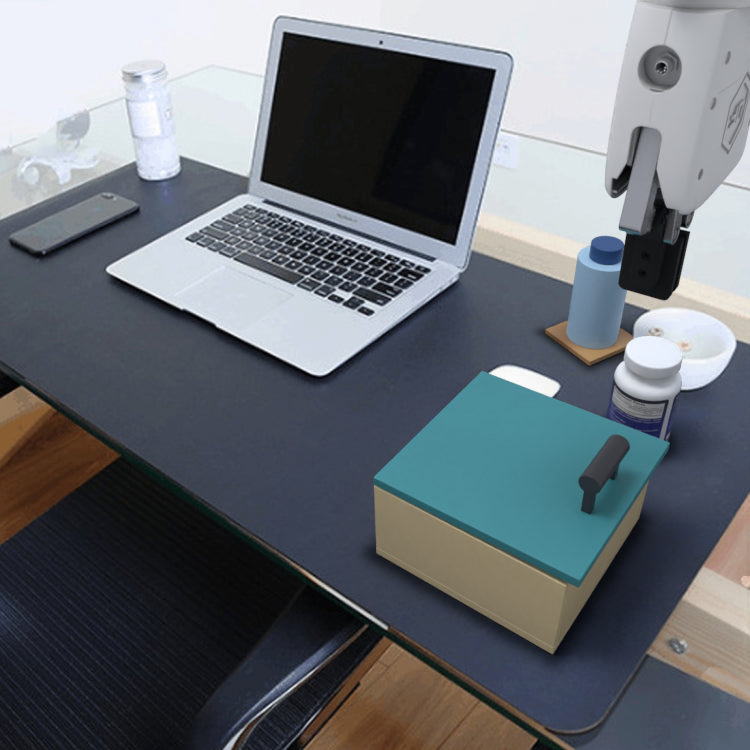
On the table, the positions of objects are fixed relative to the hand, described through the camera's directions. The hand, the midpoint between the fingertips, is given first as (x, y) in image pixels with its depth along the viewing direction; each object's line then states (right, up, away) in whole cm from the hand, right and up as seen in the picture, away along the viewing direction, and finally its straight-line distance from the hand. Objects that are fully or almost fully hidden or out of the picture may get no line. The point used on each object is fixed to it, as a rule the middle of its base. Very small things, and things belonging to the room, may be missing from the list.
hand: (647, 288), depth 49 cm
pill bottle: (+7, -11, +25) cm, 28 cm away
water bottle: (+7, -1, +37) cm, 37 cm away
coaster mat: (+7, -2, +37) cm, 38 cm away
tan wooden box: (-6, -19, +16) cm, 25 cm away
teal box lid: (-6, -12, +11) cm, 17 cm away
